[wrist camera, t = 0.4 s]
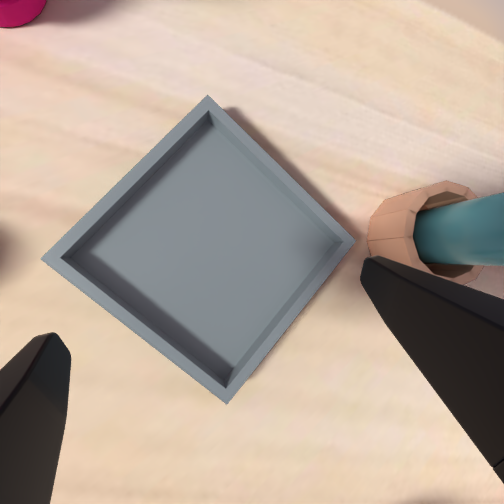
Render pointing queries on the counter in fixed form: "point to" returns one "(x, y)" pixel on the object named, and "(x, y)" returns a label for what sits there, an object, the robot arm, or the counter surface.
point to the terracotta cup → (402, 226)
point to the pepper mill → (19, 11)
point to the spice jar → (462, 232)
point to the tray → (204, 250)
